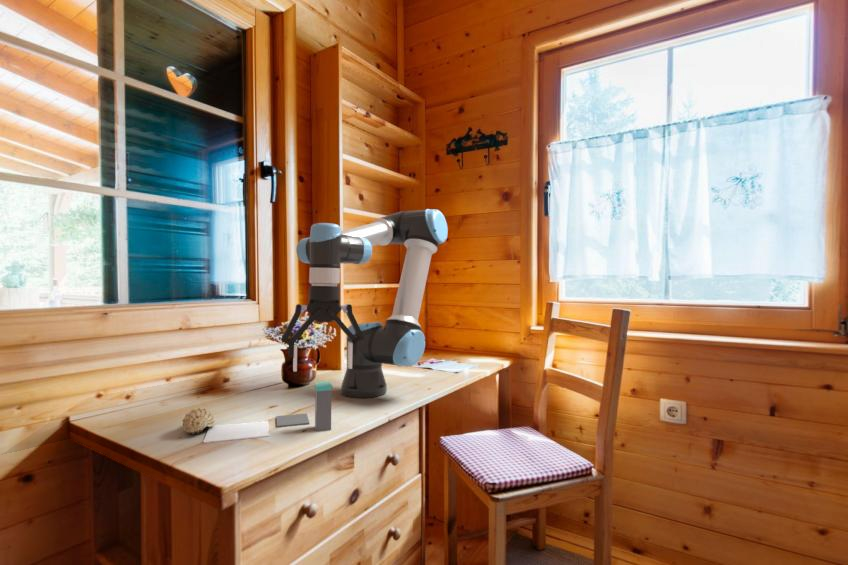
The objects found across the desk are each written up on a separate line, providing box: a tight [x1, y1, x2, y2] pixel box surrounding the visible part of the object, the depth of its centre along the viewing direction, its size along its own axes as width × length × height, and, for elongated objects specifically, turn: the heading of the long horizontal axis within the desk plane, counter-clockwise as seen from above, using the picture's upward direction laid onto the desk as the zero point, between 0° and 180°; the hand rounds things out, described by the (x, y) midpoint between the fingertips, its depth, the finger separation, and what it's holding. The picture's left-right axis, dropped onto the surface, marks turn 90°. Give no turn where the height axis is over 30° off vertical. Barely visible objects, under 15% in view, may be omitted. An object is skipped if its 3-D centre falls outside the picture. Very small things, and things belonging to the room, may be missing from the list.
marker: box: [314, 381, 333, 432], centre depth 110 cm, size 4×4×11 cm
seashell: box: [182, 408, 216, 435], centre depth 107 cm, size 8×6×10 cm
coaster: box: [275, 413, 310, 428], centre depth 115 cm, size 8×8×1 cm
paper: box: [202, 420, 270, 444], centre depth 106 cm, size 14×11×1 cm
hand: (322, 369), depth 109 cm, fingers open, 13 cm apart
